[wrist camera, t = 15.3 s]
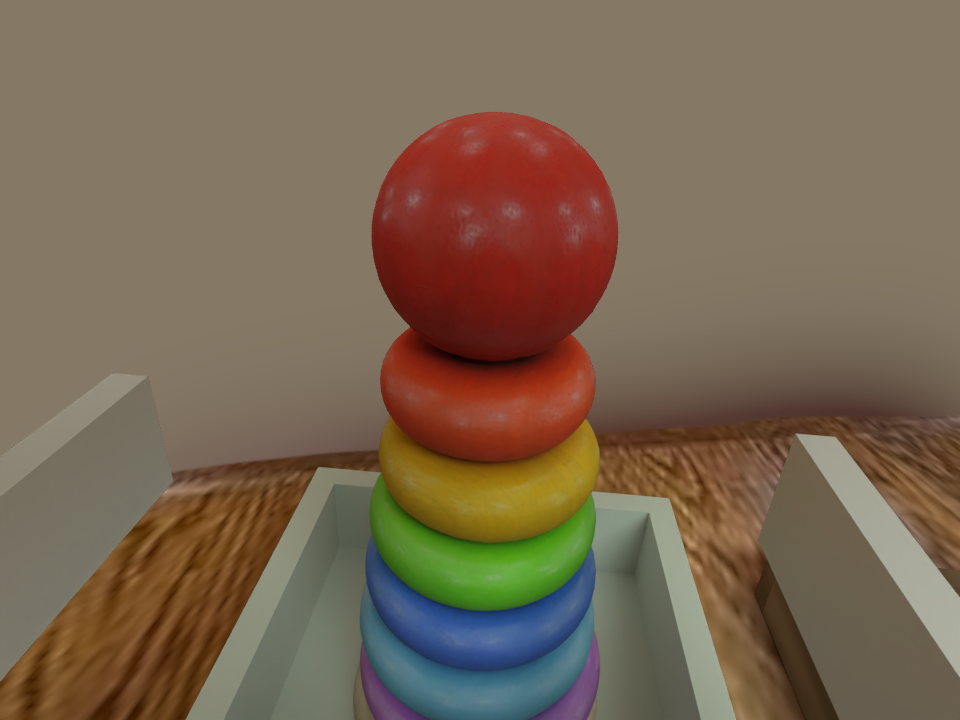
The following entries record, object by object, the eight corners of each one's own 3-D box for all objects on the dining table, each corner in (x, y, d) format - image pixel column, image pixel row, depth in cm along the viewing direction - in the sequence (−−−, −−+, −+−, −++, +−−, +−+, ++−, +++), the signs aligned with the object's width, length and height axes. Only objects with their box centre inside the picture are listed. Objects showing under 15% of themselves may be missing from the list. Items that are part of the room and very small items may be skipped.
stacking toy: (380, 600, 24) (358, 89, 15) (580, 615, 24) (670, 106, 15) (325, 828, 17) (226, 120, 8) (607, 852, 17) (808, 152, 8)
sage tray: (650, 575, 27) (669, 498, 25) (761, 1080, 14) (822, 1004, 12) (326, 544, 28) (318, 466, 26) (134, 993, 14) (86, 908, 12)
